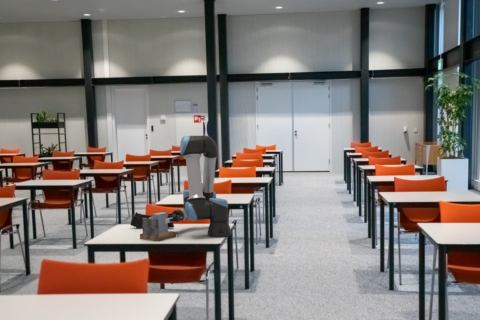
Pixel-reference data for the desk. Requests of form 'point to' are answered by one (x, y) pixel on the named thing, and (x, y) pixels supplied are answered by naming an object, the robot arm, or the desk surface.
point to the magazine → (138, 220)
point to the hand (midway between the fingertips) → (157, 220)
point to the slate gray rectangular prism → (161, 222)
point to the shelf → (154, 231)
